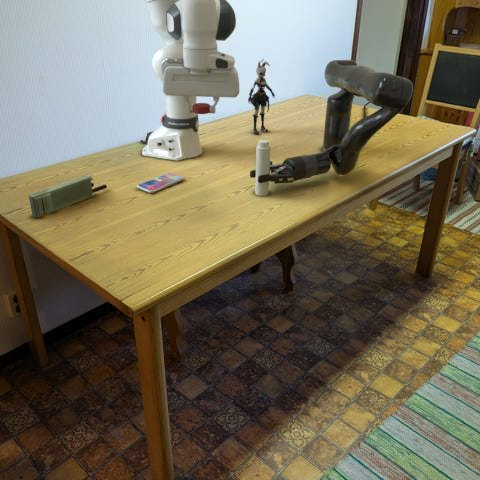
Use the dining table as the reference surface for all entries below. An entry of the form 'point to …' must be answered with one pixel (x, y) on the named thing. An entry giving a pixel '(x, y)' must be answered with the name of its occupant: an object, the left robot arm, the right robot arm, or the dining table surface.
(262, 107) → the figurine
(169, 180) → the smartphone
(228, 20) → the left robot arm
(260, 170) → the white bottle
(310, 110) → the dining table surface
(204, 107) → the lid
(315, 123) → the dining table surface
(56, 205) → the handheld radio
